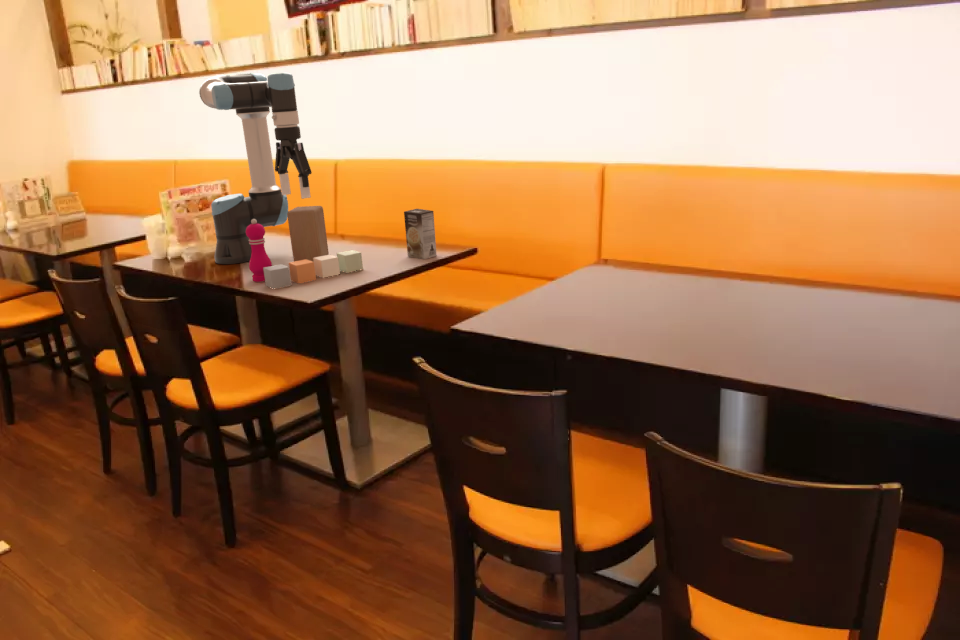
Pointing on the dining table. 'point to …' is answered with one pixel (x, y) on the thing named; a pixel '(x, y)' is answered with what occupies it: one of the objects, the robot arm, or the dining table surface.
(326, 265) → the cream cube
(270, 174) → the robot arm
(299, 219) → the wooden block
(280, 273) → the grey cube
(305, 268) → the orange cube
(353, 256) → the sage cube
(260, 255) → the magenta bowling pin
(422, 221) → the coffee box
